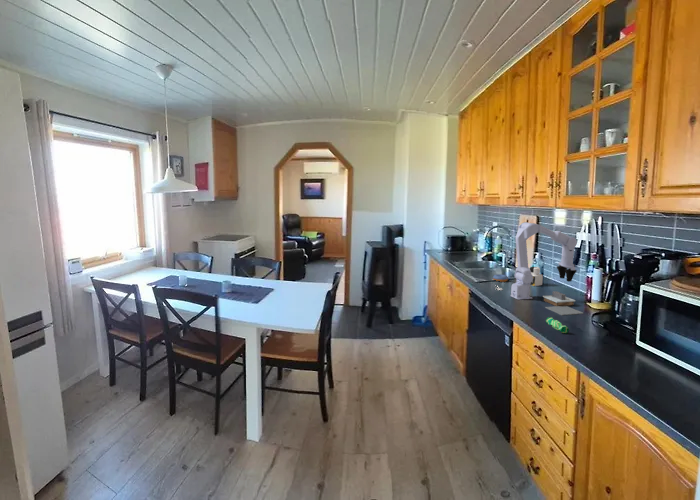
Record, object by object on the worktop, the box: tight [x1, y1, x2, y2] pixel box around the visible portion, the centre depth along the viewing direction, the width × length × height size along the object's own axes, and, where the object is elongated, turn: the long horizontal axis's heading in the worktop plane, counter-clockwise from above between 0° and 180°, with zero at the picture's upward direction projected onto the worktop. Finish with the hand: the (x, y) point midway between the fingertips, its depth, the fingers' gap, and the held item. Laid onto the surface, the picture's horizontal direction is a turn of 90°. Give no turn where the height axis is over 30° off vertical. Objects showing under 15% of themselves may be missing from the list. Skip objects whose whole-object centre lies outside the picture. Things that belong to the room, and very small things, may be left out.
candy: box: [545, 316, 570, 334], centre depth 155 cm, size 12×3×4 cm
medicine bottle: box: [529, 266, 544, 287], centre depth 229 cm, size 7×7×12 cm
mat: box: [545, 305, 584, 316], centre depth 178 cm, size 12×12×1 cm
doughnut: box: [492, 274, 509, 283], centre depth 242 cm, size 10×10×5 cm
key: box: [495, 285, 504, 291], centre depth 223 cm, size 12×1×4 cm
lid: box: [542, 290, 576, 303], centre depth 189 cm, size 11×11×4 cm
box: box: [543, 297, 575, 307], centre depth 190 cm, size 10×10×2 cm
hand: (565, 279), depth 201 cm, fingers open, 7 cm apart
